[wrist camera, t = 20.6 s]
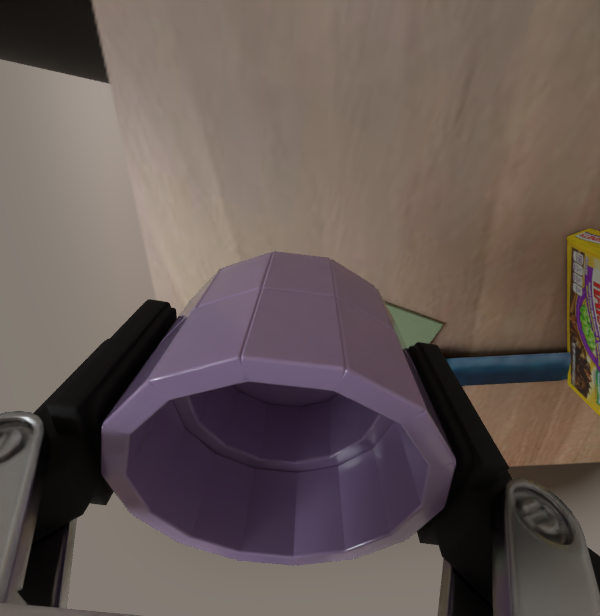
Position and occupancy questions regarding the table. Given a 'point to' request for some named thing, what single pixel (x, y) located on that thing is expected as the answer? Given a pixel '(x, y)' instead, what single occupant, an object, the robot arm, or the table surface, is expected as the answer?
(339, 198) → the table surface
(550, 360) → the knife
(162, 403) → the lilac dish
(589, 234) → the candy box
